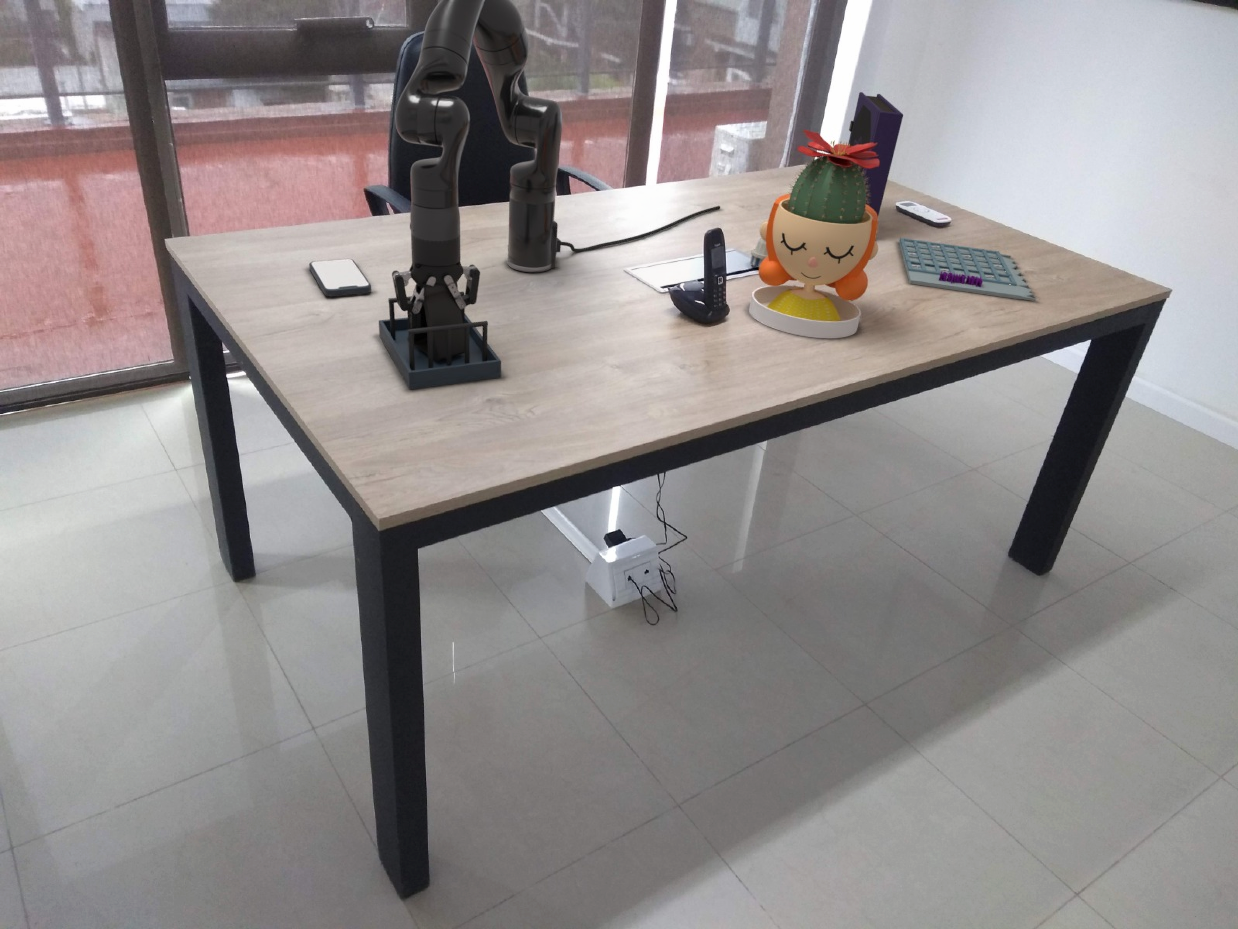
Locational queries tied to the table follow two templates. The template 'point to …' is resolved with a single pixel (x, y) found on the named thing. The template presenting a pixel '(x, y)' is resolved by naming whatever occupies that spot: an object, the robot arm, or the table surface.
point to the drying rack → (422, 366)
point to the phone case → (339, 277)
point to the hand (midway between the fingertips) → (437, 329)
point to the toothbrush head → (759, 253)
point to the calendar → (963, 269)
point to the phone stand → (440, 321)
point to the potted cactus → (819, 244)
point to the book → (876, 141)
